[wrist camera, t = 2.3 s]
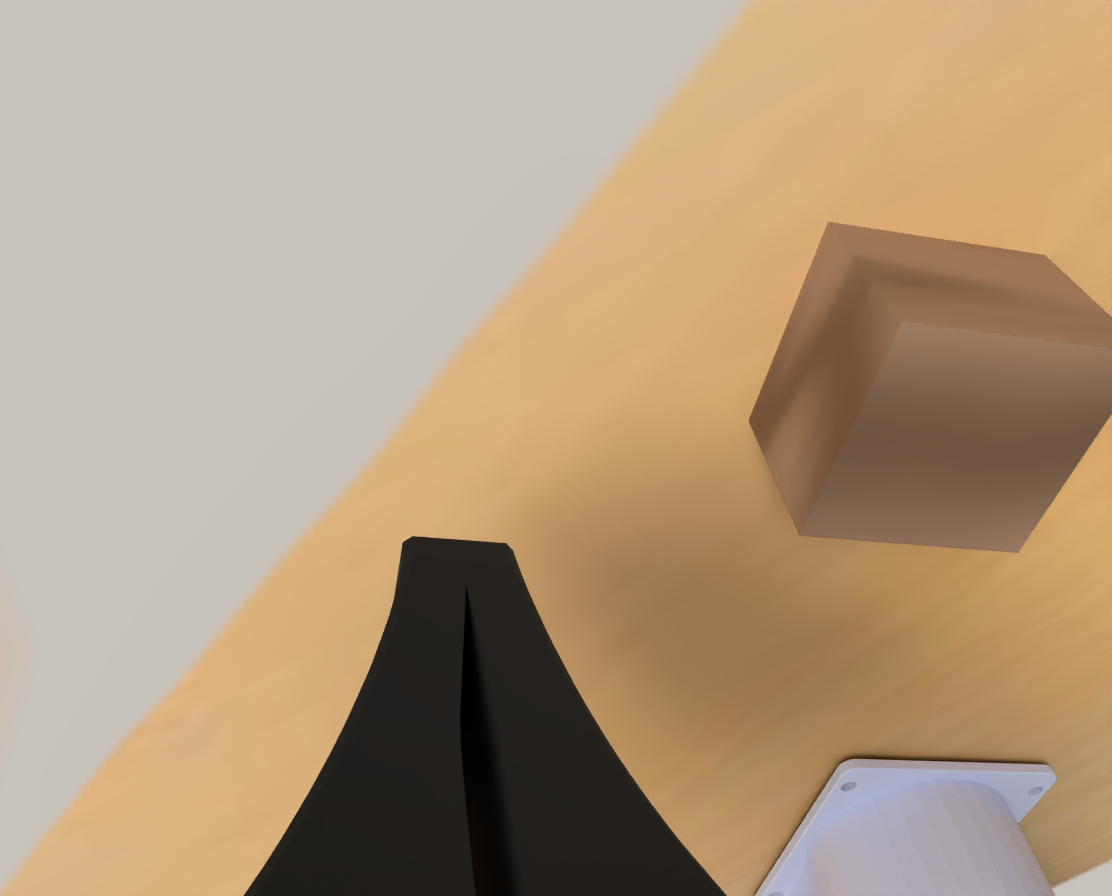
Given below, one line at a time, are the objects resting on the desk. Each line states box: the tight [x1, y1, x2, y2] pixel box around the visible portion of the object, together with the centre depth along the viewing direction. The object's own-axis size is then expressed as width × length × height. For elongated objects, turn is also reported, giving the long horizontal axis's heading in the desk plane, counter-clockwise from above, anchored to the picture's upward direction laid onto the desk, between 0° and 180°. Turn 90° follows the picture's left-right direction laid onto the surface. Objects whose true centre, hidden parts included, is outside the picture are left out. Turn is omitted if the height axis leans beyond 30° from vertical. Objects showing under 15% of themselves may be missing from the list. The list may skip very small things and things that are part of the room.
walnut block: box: [749, 222, 1112, 553], centre depth 20 cm, size 5×5×4 cm
